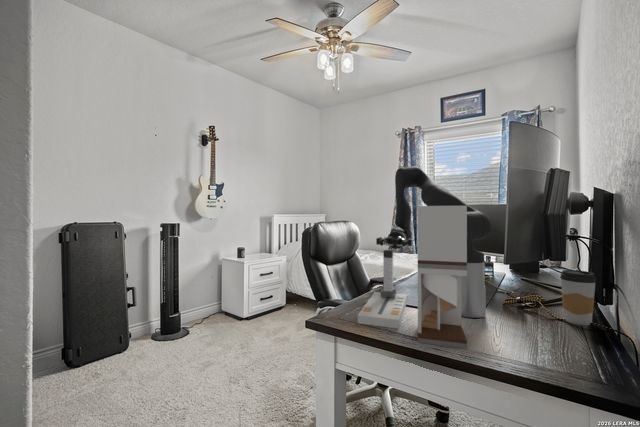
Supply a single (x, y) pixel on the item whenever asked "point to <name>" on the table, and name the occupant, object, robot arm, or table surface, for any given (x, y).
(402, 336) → the table surface
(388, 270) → the fader
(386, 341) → the table surface
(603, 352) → the table surface
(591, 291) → the coffee cup
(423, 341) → the display case
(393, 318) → the console
